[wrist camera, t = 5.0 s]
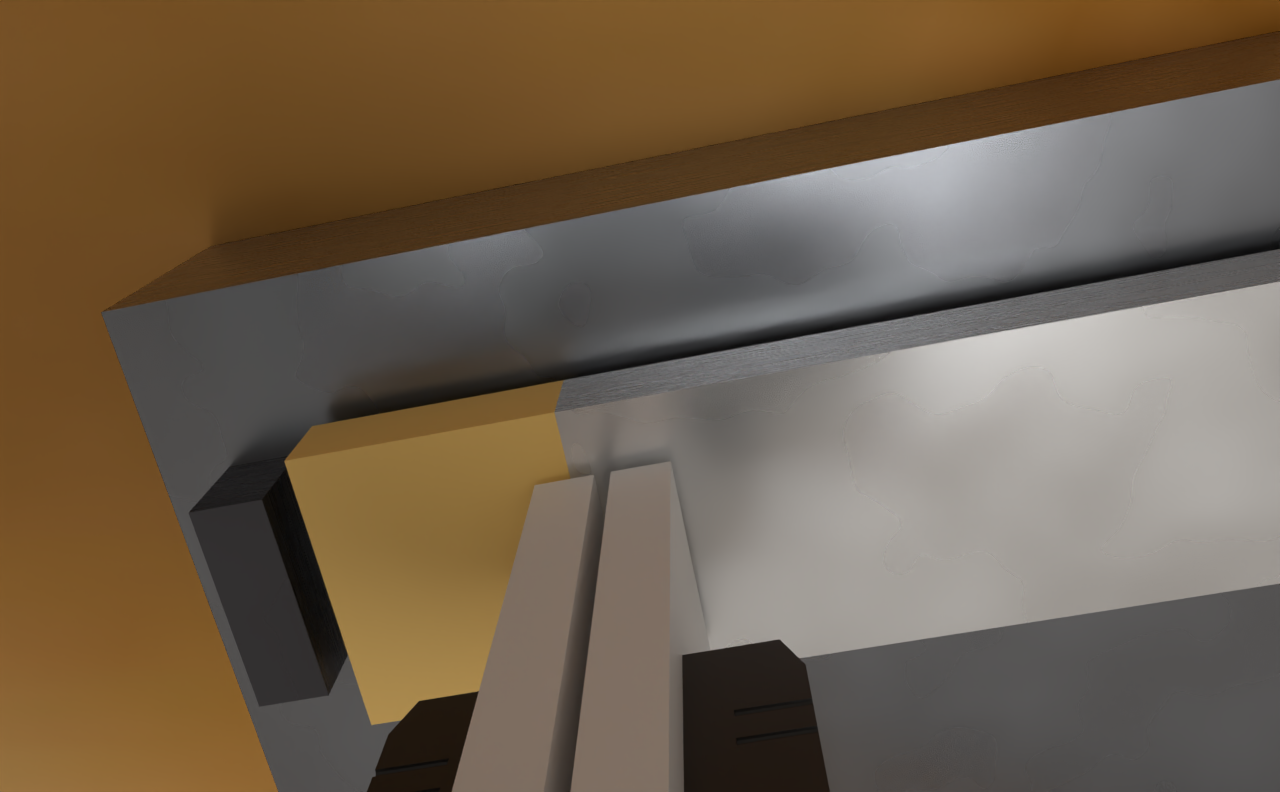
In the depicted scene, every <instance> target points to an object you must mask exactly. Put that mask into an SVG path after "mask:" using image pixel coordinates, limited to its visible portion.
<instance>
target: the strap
mask: <svg viewBox="0 0 1280 792" xmlns="http://www.w3.org/2000/svg"><path fill="white" fill-rule="evenodd" d="M669 461H671V465H672V470H673V475H674V479H675V484H676V489H677V494H678V498H679V503H680V508H681V513H682V517H683V522H684V527H685V532H686V536H687V541H688V546H689V551H690V555H691V560H692V565H693V570H694V574H695V579H696V584H697V589H698V593H699V598H700V603H701V608H702V612H703V617H704V622H705V627H706V631H707V636H708V641H709V646H710V650H716V649H722V648H729V647H735V646H741V645H747V644H753V643H760V642H766V641H772V640H778V639H780V640H781V641H782V642H783V643H784V644H785V645H786V646H787V647H788V648H789V649H790V650H791V651H792V652H793V653H794V654H795V655H796V656H797V657H798V658H805V657H811V656H818V655H824V654H831V653H837V652H843V651H850V650H856V649H863V648H869V647H876V646H882V645H888V644H895V643H901V642H908V641H914V640H920V639H927V638H933V637H940V636H946V635H953V634H959V633H965V632H972V631H978V630H985V629H991V628H998V627H1004V626H1010V625H1017V624H1023V623H1030V622H1036V621H1042V620H1049V619H1055V618H1062V617H1068V616H1075V615H1081V614H1087V613H1094V612H1100V611H1107V610H1113V609H1119V608H1126V607H1132V606H1139V605H1145V604H1152V603H1158V602H1164V601H1171V600H1177V599H1184V598H1190V597H1196V596H1203V595H1209V594H1216V593H1222V592H1229V591H1235V590H1241V589H1248V588H1254V587H1261V586H1267V585H1274V584H1280V249H1278V250H1272V251H1267V252H1261V253H1256V254H1251V255H1245V256H1240V257H1234V258H1229V259H1223V260H1218V261H1212V262H1207V263H1201V264H1196V265H1190V266H1185V267H1179V268H1174V269H1169V270H1163V271H1158V272H1152V273H1147V274H1141V275H1136V276H1130V277H1125V278H1119V279H1114V280H1108V281H1103V282H1097V283H1092V284H1087V285H1081V286H1076V287H1070V288H1065V289H1059V290H1054V291H1048V292H1043V293H1037V294H1032V295H1026V296H1021V297H1015V298H1010V299H1004V300H999V301H994V302H988V303H983V304H977V305H972V306H966V307H961V308H955V309H950V310H944V311H939V312H933V313H928V314H922V315H917V316H912V317H906V318H901V319H895V320H890V321H884V322H879V323H873V324H868V325H862V326H857V327H851V328H846V329H840V330H835V331H830V332H824V333H819V334H813V335H808V336H802V337H797V338H791V339H786V340H780V341H775V342H769V343H764V344H758V345H753V346H747V347H742V348H737V349H731V350H726V351H720V352H715V353H709V354H704V355H698V356H693V357H687V358H682V359H676V360H671V361H665V362H660V363H655V364H649V365H644V366H638V367H633V368H627V369H622V370H616V371H611V372H605V373H600V374H594V375H589V376H583V377H578V378H573V379H567V380H562V381H556V382H551V383H545V384H540V385H534V386H529V387H523V388H518V389H512V390H507V391H501V392H496V393H490V394H485V395H480V396H474V397H469V398H463V399H458V400H452V401H447V402H441V403H436V404H430V405H425V406H419V407H414V408H408V409H403V410H398V411H392V412H387V413H381V414H376V415H370V416H365V417H359V418H354V419H348V420H343V421H337V422H332V423H326V424H321V425H316V426H312V427H311V428H310V429H309V431H308V432H307V433H306V434H305V436H304V437H303V438H302V439H301V441H300V442H299V443H298V444H297V446H296V447H295V448H294V449H293V451H292V452H291V453H290V454H289V456H288V457H287V458H286V459H285V461H284V462H285V465H286V468H287V471H288V474H289V477H290V480H291V483H292V486H293V489H294V492H295V495H296V498H297V501H298V505H299V508H300V511H301V514H302V517H303V520H304V523H305V526H306V529H307V532H308V535H309V538H310V541H311V544H312V547H313V550H314V553H315V556H316V559H317V562H318V565H319V568H320V571H321V574H322V577H323V580H324V583H325V586H326V589H327V592H328V595H329V598H330V601H331V604H332V607H333V610H334V613H335V616H336V619H337V623H338V626H339V629H340V632H341V635H342V638H343V641H344V644H345V647H346V650H347V653H348V656H349V659H350V662H351V665H352V668H353V671H354V674H355V677H356V680H357V683H358V686H359V689H360V692H361V695H362V698H363V701H364V704H365V707H366V710H367V713H368V716H369V719H370V722H371V725H375V724H381V723H388V722H394V721H401V720H402V719H403V718H404V717H405V716H406V715H407V713H408V712H409V711H410V710H411V709H412V708H413V707H414V706H415V705H416V704H417V703H418V701H422V700H428V699H434V698H440V697H446V696H453V695H459V694H465V693H471V692H477V691H479V689H480V685H481V682H482V678H483V674H484V670H485V667H486V663H487V659H488V656H489V652H490V648H491V645H492V641H493V637H494V634H495V630H496V626H497V622H498V619H499V615H500V611H501V608H502V604H503V600H504V597H505V593H506V589H507V586H508V582H509V578H510V574H511V571H512V567H513V563H514V560H515V556H516V552H517V549H518V545H519V541H520V538H521V534H522V530H523V526H524V523H525V519H526V515H527V512H528V508H529V504H530V501H531V497H532V493H533V490H534V486H535V485H538V484H544V483H550V482H555V481H561V480H567V479H572V478H578V477H584V476H589V475H594V477H595V482H596V486H597V490H598V494H599V499H600V503H601V507H602V512H603V516H604V520H605V514H606V506H607V498H608V490H609V482H610V474H611V472H612V471H618V470H623V469H629V468H635V467H640V466H646V465H652V464H657V463H663V462H669Z"/></svg>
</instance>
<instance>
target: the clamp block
mask: <svg viewBox="0 0 1280 792" xmlns="http://www.w3.org/2000/svg"><path fill="white" fill-rule="evenodd" d="M1278 249H1280V31H1278V32H1273V33H1268V34H1263V35H1258V36H1253V37H1248V38H1243V39H1238V40H1233V41H1228V42H1223V43H1218V44H1213V45H1208V46H1203V47H1198V48H1193V49H1188V50H1183V51H1178V52H1173V53H1168V54H1164V55H1159V56H1154V57H1149V58H1144V59H1139V60H1134V61H1129V62H1124V63H1119V64H1114V65H1109V66H1104V67H1099V68H1094V69H1089V70H1084V71H1079V72H1074V73H1069V74H1064V75H1059V76H1054V77H1049V78H1044V79H1039V80H1034V81H1029V82H1024V83H1019V84H1015V85H1010V86H1005V87H1000V88H995V89H990V90H985V91H980V92H975V93H970V94H965V95H960V96H955V97H950V98H945V99H940V100H935V101H930V102H925V103H920V104H915V105H910V106H905V107H900V108H895V109H890V110H885V111H880V112H875V113H871V114H866V115H861V116H856V117H851V118H846V119H841V120H836V121H831V122H826V123H821V124H816V125H811V126H806V127H801V128H796V129H791V130H786V131H781V132H776V133H771V134H766V135H761V136H756V137H751V138H746V139H741V140H736V141H731V142H726V143H722V144H717V145H712V146H707V147H702V148H697V149H692V150H687V151H682V152H677V153H672V154H667V155H662V156H657V157H652V158H647V159H642V160H637V161H632V162H627V163H622V164H617V165H612V166H607V167H602V168H597V169H592V170H587V171H582V172H578V173H573V174H568V175H563V176H558V177H553V178H548V179H543V180H538V181H533V182H528V183H523V184H518V185H513V186H508V187H503V188H498V189H493V190H488V191H483V192H478V193H473V194H468V195H463V196H458V197H453V198H448V199H443V200H438V201H433V202H429V203H424V204H419V205H414V206H409V207H404V208H399V209H394V210H389V211H384V212H379V213H374V214H369V215H364V216H359V217H354V218H349V219H344V220H339V221H334V222H329V223H324V224H319V225H314V226H309V227H304V228H299V229H294V230H289V231H284V232H280V233H275V234H270V235H265V236H260V237H255V238H250V239H245V240H240V241H235V242H230V243H225V244H220V245H215V246H210V247H209V248H207V249H205V250H204V251H202V252H200V253H199V254H197V255H195V256H194V257H192V258H190V259H189V260H187V261H185V262H184V263H182V264H180V265H179V266H177V267H175V268H174V269H172V270H171V271H169V272H167V273H166V274H164V275H162V276H161V277H159V278H157V279H156V280H154V281H152V282H151V283H149V284H147V285H146V286H144V287H142V288H141V289H139V290H137V291H136V292H134V293H132V294H131V295H129V296H127V297H126V298H124V299H122V300H121V301H119V302H117V303H116V304H114V305H113V306H111V307H109V308H108V309H106V310H104V311H103V312H101V313H102V316H103V319H104V321H105V324H106V327H107V329H108V332H109V335H110V338H111V340H112V343H113V346H114V348H115V351H116V354H117V356H118V359H119V362H120V365H121V367H122V370H123V373H124V375H125V378H126V381H127V383H128V386H129V389H130V392H131V394H132V397H133V400H134V402H135V405H136V408H137V411H138V413H139V416H140V419H141V421H142V424H143V427H144V429H145V432H146V435H147V438H148V440H149V443H150V446H151V448H152V451H153V454H154V456H155V459H156V462H157V465H158V467H159V470H160V473H161V475H162V478H163V481H164V483H165V486H166V489H167V492H168V494H169V497H170V500H171V502H172V505H173V508H174V511H175V513H176V516H177V519H178V521H179V524H180V527H181V529H182V532H183V535H184V538H185V540H186V543H187V546H188V548H189V551H190V554H191V556H192V559H193V562H194V565H195V567H196V570H197V573H198V575H199V578H200V581H201V584H202V586H203V589H204V592H205V594H206V597H207V600H208V602H209V605H210V608H211V611H212V613H213V616H214V619H215V621H216V624H217V627H218V629H219V632H220V635H221V638H222V640H223V643H224V646H225V648H226V651H227V654H228V656H229V659H230V662H231V665H232V667H233V670H234V673H235V675H236V678H237V681H238V684H239V686H240V689H241V692H242V694H243V697H244V700H245V702H246V705H247V708H248V711H249V713H250V716H251V719H252V721H253V724H254V727H255V729H256V732H257V735H258V738H259V740H260V743H261V746H262V748H263V751H264V754H265V756H266V759H267V762H268V765H269V767H270V770H271V773H272V775H273V778H274V781H275V784H276V786H277V789H278V792H367V790H368V787H369V785H370V782H371V779H372V777H375V776H376V772H375V769H376V766H377V763H378V761H379V758H380V755H381V753H382V750H383V747H384V745H385V742H386V739H387V737H388V734H389V733H390V732H391V731H392V730H393V729H394V728H395V727H396V725H397V724H398V723H399V722H400V721H394V722H388V723H381V724H375V725H371V722H370V719H369V716H368V713H367V710H366V707H365V704H364V701H363V698H362V695H361V692H360V689H359V686H358V683H357V680H356V677H355V674H354V671H353V668H352V665H351V662H350V659H349V656H348V653H347V650H346V647H345V644H344V641H343V638H342V635H341V632H340V629H339V626H338V623H337V619H336V616H335V613H334V610H333V607H332V604H331V601H330V598H329V595H328V592H327V589H326V586H325V583H324V580H323V577H322V574H321V571H320V568H319V565H318V562H317V559H316V556H315V553H314V550H313V547H312V544H311V541H310V538H309V535H308V532H307V529H306V526H305V523H304V520H303V517H302V514H301V511H300V508H299V505H298V501H297V498H296V495H295V492H294V489H293V486H292V483H291V480H290V477H289V474H288V471H287V468H286V465H285V462H284V461H285V459H286V458H287V457H288V456H289V454H290V453H291V452H292V451H293V449H294V448H295V447H296V446H297V444H298V443H299V442H300V441H301V439H302V438H303V437H304V436H305V434H306V433H307V432H308V431H309V429H310V428H311V427H312V426H316V425H321V424H326V423H332V422H337V421H343V420H348V419H354V418H359V417H365V416H370V415H376V414H381V413H387V412H392V411H398V410H403V409H408V408H414V407H419V406H425V405H430V404H436V403H441V402H447V401H452V400H458V399H463V398H469V397H474V396H480V395H485V394H490V393H496V392H501V391H507V390H512V389H518V388H523V387H529V386H534V385H540V384H545V383H551V382H556V381H562V380H567V379H573V378H578V377H583V376H589V375H594V374H600V373H605V372H611V371H616V370H622V369H627V368H633V367H638V366H644V365H649V364H655V363H660V362H665V361H671V360H676V359H682V358H687V357H693V356H698V355H704V354H709V353H715V352H720V351H726V350H731V349H737V348H742V347H747V346H753V345H758V344H764V343H769V342H775V341H780V340H786V339H791V338H797V337H802V336H808V335H813V334H819V333H824V332H830V331H835V330H840V329H846V328H851V327H857V326H862V325H868V324H873V323H879V322H884V321H890V320H895V319H901V318H906V317H912V316H917V315H922V314H928V313H933V312H939V311H944V310H950V309H955V308H961V307H966V306H972V305H977V304H983V303H988V302H994V301H999V300H1004V299H1010V298H1015V297H1021V296H1026V295H1032V294H1037V293H1043V292H1048V291H1054V290H1059V289H1065V288H1070V287H1076V286H1081V285H1087V284H1092V283H1097V282H1103V281H1108V280H1114V279H1119V278H1125V277H1130V276H1136V275H1141V274H1147V273H1152V272H1158V271H1163V270H1169V269H1174V268H1179V267H1185V266H1190V265H1196V264H1201V263H1207V262H1212V261H1218V260H1223V259H1229V258H1234V257H1240V256H1245V255H1251V254H1256V253H1261V252H1267V251H1272V250H1278ZM799 659H801V660H802V661H803V662H804V663H805V664H806V669H807V674H808V679H809V684H810V690H811V695H812V700H813V705H814V711H815V716H816V721H817V726H818V732H819V737H820V742H821V747H822V753H823V758H824V763H825V768H826V774H827V779H828V784H829V789H830V792H1280V584H1274V585H1267V586H1261V587H1254V588H1248V589H1241V590H1235V591H1229V592H1222V593H1216V594H1209V595H1203V596H1196V597H1190V598H1184V599H1177V600H1171V601H1164V602H1158V603H1152V604H1145V605H1139V606H1132V607H1126V608H1119V609H1113V610H1107V611H1100V612H1094V613H1087V614H1081V615H1075V616H1068V617H1062V618H1055V619H1049V620H1042V621H1036V622H1030V623H1023V624H1017V625H1010V626H1004V627H998V628H991V629H985V630H978V631H972V632H965V633H959V634H953V635H946V636H940V637H933V638H927V639H920V640H914V641H908V642H901V643H895V644H888V645H882V646H876V647H869V648H863V649H856V650H850V651H843V652H837V653H831V654H824V655H818V656H811V657H805V658H799Z"/></svg>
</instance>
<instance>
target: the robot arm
mask: <svg viewBox="0 0 1280 792" xmlns="http://www.w3.org/2000/svg"><path fill="white" fill-rule="evenodd" d="M375 772H376V776H375V777H372V779H371V782H370V785H369V787H368V790H367V792H830V789H829V784H828V779H827V774H826V768H825V763H824V758H823V753H822V747H821V742H820V737H819V732H818V726H817V721H816V716H815V711H814V705H813V700H812V695H811V690H810V684H809V679H808V674H807V669H806V664H805V663H804V662H803V661H802V660H801V659H799V658H798V657H797V656H796V655H795V654H794V653H793V652H792V651H791V650H790V649H789V648H788V647H787V646H786V645H785V644H784V643H783V642H782V641H781V640H780V639H778V640H772V641H766V642H760V643H753V644H747V645H741V646H735V647H729V648H722V649H716V650H710V646H709V641H708V636H707V631H706V627H705V622H704V617H703V612H702V608H701V603H700V598H699V593H698V589H697V584H696V579H695V574H694V570H693V565H692V560H691V555H690V551H689V546H688V541H687V536H686V532H685V527H684V522H683V517H682V513H681V508H680V503H679V498H678V494H677V489H676V484H675V479H674V475H673V470H672V465H671V461H669V462H663V463H657V464H652V465H646V466H640V467H635V468H629V469H623V470H618V471H612V472H611V474H610V482H609V490H608V498H607V506H606V514H605V520H604V516H603V512H602V507H601V503H600V499H599V494H598V490H597V486H596V482H595V477H594V475H589V476H584V477H578V478H572V479H567V480H561V481H555V482H550V483H544V484H538V485H535V486H534V490H533V493H532V497H531V501H530V504H529V508H528V512H527V515H526V519H525V523H524V526H523V530H522V534H521V538H520V541H519V545H518V549H517V552H516V556H515V560H514V563H513V567H512V571H511V574H510V578H509V582H508V586H507V589H506V593H505V597H504V600H503V604H502V608H501V611H500V615H499V619H498V622H497V626H496V630H495V634H494V637H493V641H492V645H491V648H490V652H489V656H488V659H487V663H486V667H485V670H484V674H483V678H482V682H481V685H480V689H479V691H477V692H471V693H465V694H459V695H453V696H446V697H440V698H434V699H428V700H422V701H418V703H417V704H416V705H415V706H414V707H413V708H412V709H411V710H410V711H409V712H408V713H407V715H406V716H405V717H404V718H403V719H402V720H401V721H400V722H399V723H398V724H397V725H396V727H395V728H394V729H393V730H392V731H391V732H390V733H389V734H388V737H387V739H386V742H385V745H384V747H383V750H382V753H381V755H380V758H379V761H378V763H377V766H376V769H375Z"/></svg>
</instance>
